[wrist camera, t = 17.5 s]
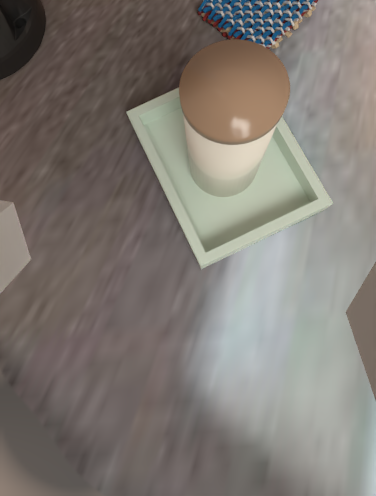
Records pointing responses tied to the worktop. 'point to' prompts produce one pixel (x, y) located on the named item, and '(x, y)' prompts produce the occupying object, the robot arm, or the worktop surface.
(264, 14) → the woven mat
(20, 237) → the robot arm
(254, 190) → the tray
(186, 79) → the canister
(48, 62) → the worktop surface
